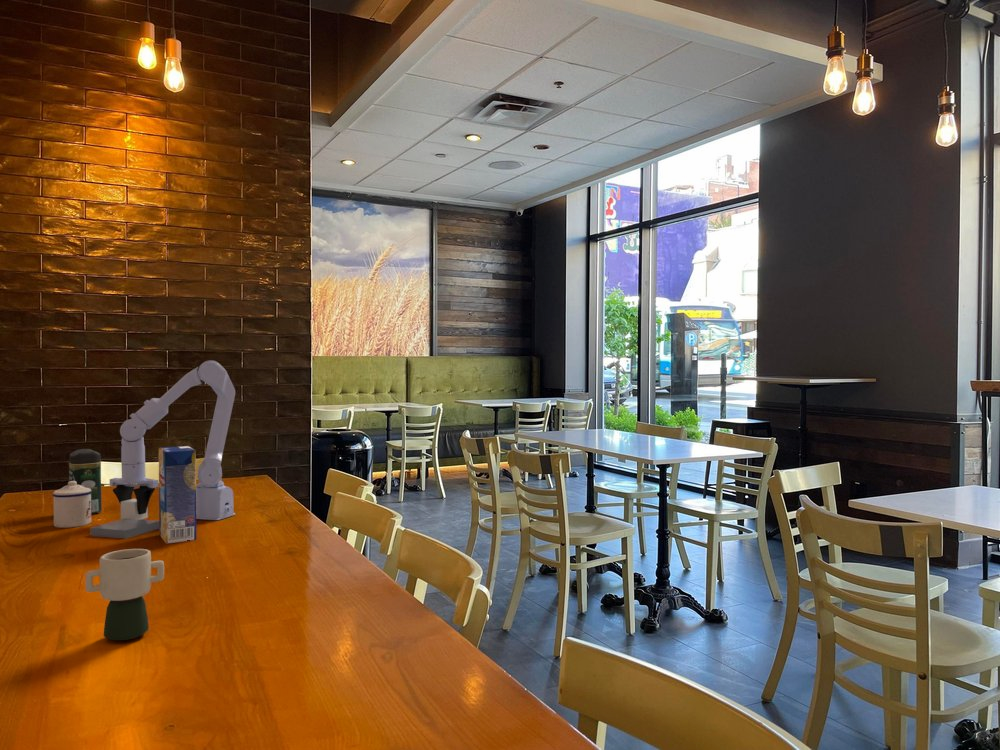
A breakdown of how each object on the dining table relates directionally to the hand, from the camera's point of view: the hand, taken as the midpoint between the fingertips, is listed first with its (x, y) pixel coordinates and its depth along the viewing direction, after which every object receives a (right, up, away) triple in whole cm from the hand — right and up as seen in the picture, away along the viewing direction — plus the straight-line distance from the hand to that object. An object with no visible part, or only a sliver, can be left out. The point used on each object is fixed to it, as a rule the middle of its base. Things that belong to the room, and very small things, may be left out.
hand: (134, 513), depth 190 cm
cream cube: (0, -2, 0) cm, 2 cm away
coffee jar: (-21, -3, +13) cm, 25 cm away
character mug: (+41, -4, -81) cm, 91 cm away
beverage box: (+19, -3, -16) cm, 25 cm away
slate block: (+3, -3, -10) cm, 11 cm away
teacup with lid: (-17, -3, 0) cm, 17 cm away
